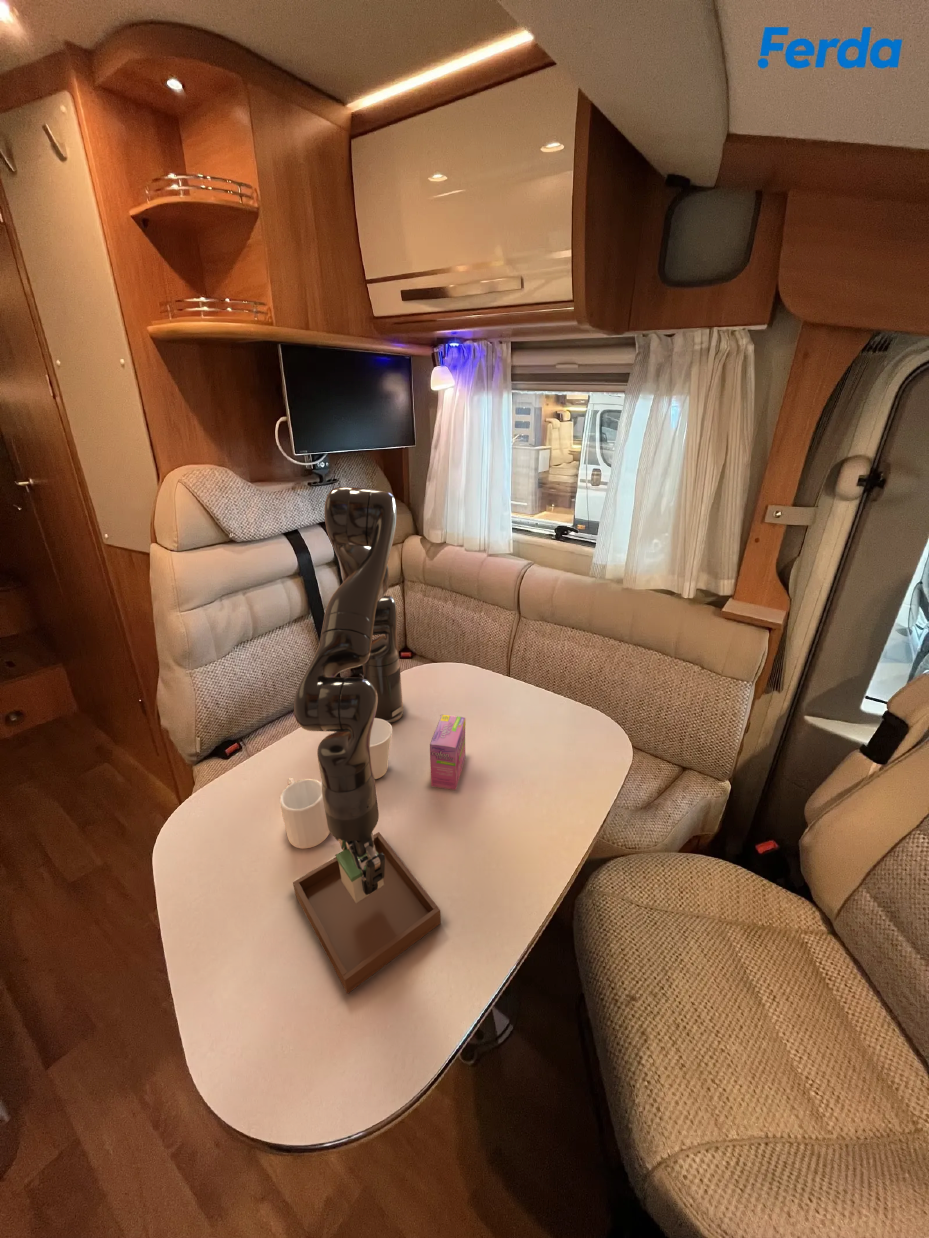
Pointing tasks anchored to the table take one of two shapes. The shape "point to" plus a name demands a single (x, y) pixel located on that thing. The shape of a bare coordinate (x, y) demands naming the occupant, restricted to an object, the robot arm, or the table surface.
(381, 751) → the cup
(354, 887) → the container
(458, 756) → the box
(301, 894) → the tray
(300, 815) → the mug
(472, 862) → the table surface
